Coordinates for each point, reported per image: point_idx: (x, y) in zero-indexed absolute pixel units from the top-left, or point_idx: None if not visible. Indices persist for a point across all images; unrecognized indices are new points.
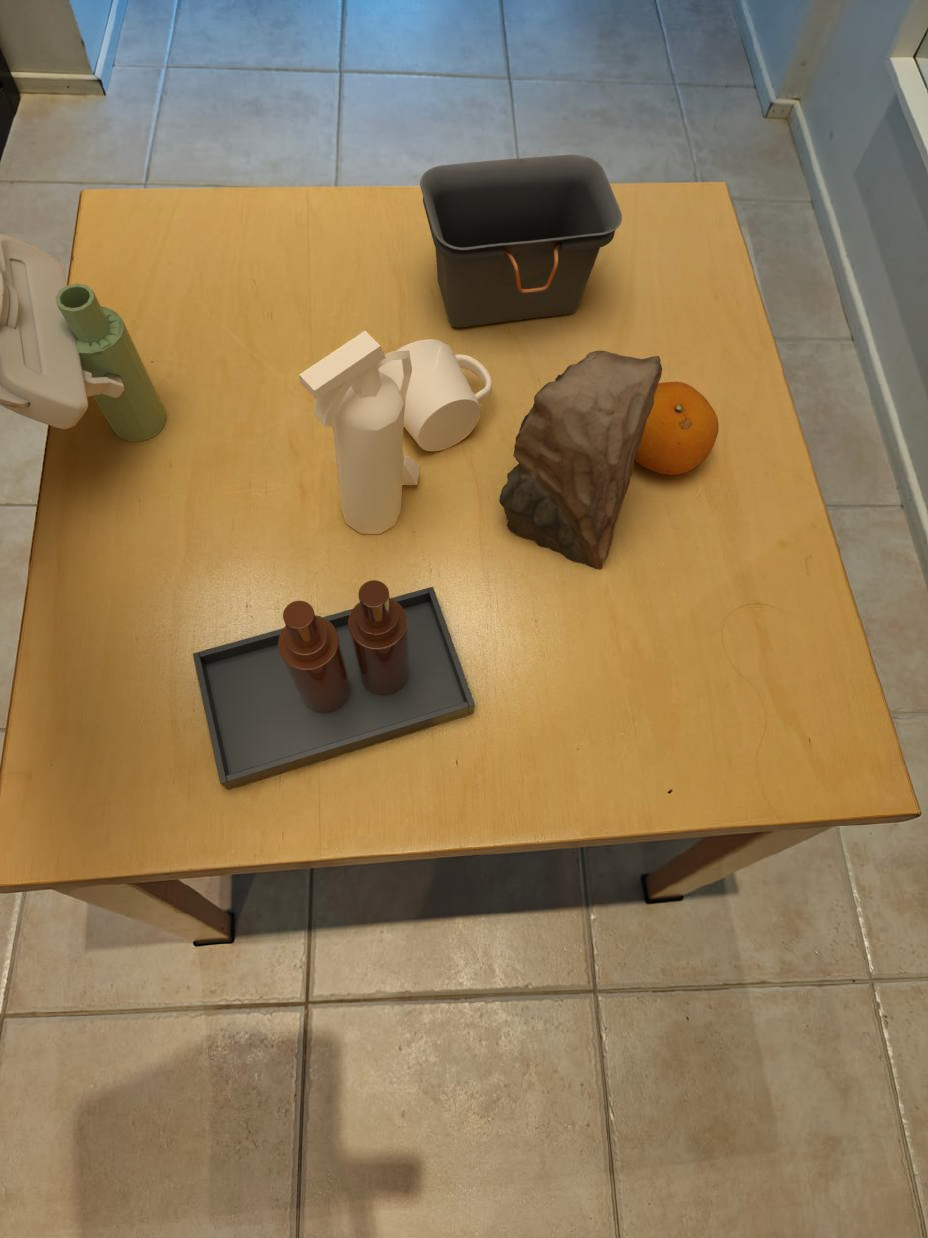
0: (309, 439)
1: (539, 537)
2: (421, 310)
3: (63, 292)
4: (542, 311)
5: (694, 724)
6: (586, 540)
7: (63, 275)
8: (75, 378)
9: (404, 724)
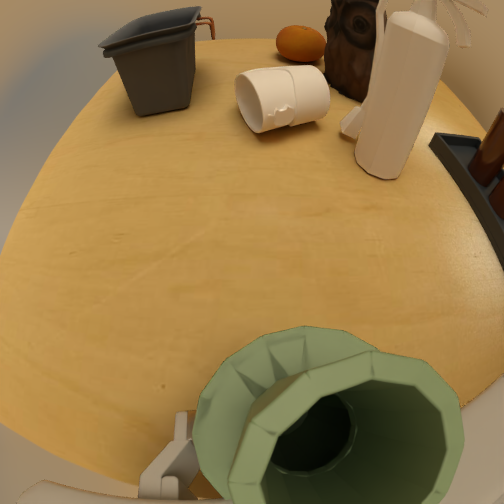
0: (307, 198)
1: None
2: (160, 124)
3: None
4: (193, 72)
5: None
6: None
7: (70, 492)
8: (500, 400)
9: None
